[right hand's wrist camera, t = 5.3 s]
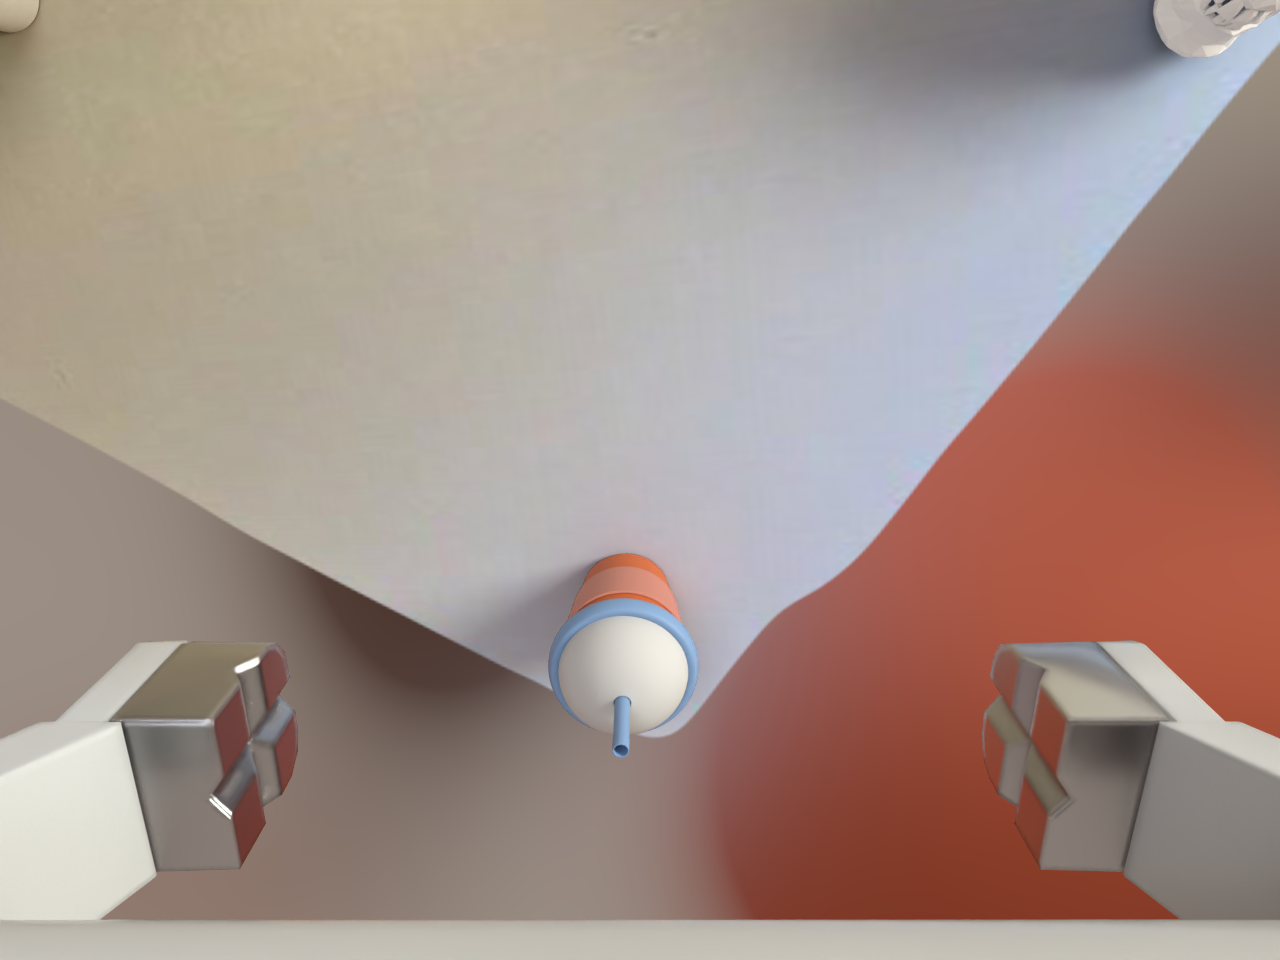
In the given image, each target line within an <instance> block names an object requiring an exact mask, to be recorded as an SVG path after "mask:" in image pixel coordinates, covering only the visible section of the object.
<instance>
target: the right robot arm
mask: <svg viewBox="0 0 1280 960" xmlns="http://www.w3.org/2000/svg"><path fill="white" fill-rule="evenodd" d="M289 678H290V675H289V670H288V664H287V659H286V654H285V651H284V650H283V649H282V648H281V647H280V646H279V645H278V644H277V643H247V642H195V641H193V642H188V641H149V642H143V643H137V644H136V645H135V646H134V647H133V648H132V649H131V650H130V651H129V652H127V653H126V654H125V655H124V656H123V657H122V658H121V659H120V660H119V661H118V662H117V663H116V664H115V665H114V666H113V667H112V668H111V669H110V670H109V671H108V672H107V673H105V674H104V675H103V676H102V677H101V678H100V679H99V680H98V681H97V682H96V683H95V684H94V685H93V686H92V687H91V688H90V689H89V690H88V691H87V692H86V693H85V694H83V695H82V696H81V697H80V698H79V699H78V700H77V701H76V702H75V703H74V704H73V705H72V706H71V707H70V708H69V709H68V710H67V711H66V712H65V713H64V714H62V715H61V716H60V717H59V718H58V719H57V720H56V721H55V722H39V723H36V724H34V725H31V726H29V727H27V728H24V729H22V730H20V731H17V732H15V733H13V734H10V735H8V736H6V737H3V738H1V739H0V960H1280V739H1279V738H1276V737H1274V736H1272V735H1270V734H1267V733H1265V732H1263V731H1260V730H1258V729H1255V728H1253V727H1251V726H1248V725H1246V724H1244V723H1241V722H1225V721H1224V720H1223V719H1222V718H1221V717H1220V716H1219V715H1218V714H1217V713H1215V712H1214V711H1213V710H1212V709H1211V708H1210V707H1209V706H1208V705H1207V704H1206V703H1205V702H1204V701H1203V700H1202V699H1201V698H1200V697H1199V696H1198V695H1197V694H1196V693H1195V692H1194V691H1192V690H1191V689H1190V688H1189V687H1188V686H1187V685H1186V684H1185V683H1184V682H1183V681H1182V680H1181V679H1180V678H1179V677H1178V676H1177V675H1176V674H1175V673H1174V672H1173V671H1172V670H1171V669H1170V668H1168V667H1167V666H1166V665H1165V664H1164V663H1163V662H1162V661H1161V660H1160V659H1159V658H1158V657H1157V656H1156V655H1155V654H1154V653H1153V652H1152V651H1151V650H1150V649H1149V648H1148V647H1147V646H1146V645H1144V644H1142V643H1139V642H1136V641H1133V640H1130V641H1105V642H1062V643H1022V644H1004V645H999V647H998V649H997V651H996V653H995V655H994V657H993V663H992V668H991V675H990V678H991V680H992V681H993V683H994V684H995V686H996V687H997V689H998V690H999V692H1000V693H1001V695H1000V696H999V697H998V698H997V699H996V700H995V701H994V702H993V703H992V704H991V705H990V706H989V707H988V708H987V709H986V710H985V712H984V721H983V729H982V746H983V756H984V763H985V766H986V769H987V772H988V775H989V778H990V780H991V782H992V784H993V786H994V788H995V790H996V792H997V793H998V795H999V796H1001V797H1003V798H1004V799H1006V800H1007V801H1009V802H1010V803H1012V804H1013V805H1015V806H1016V807H1017V810H1016V816H1015V822H1014V824H1015V826H1016V827H1017V829H1018V831H1019V833H1020V834H1021V836H1022V838H1023V840H1024V841H1025V843H1026V845H1027V847H1028V848H1029V850H1030V852H1031V853H1032V855H1033V857H1034V859H1035V861H1036V862H1037V864H1038V866H1039V868H1040V869H1048V870H1083V871H1120V872H1124V873H1123V876H1125V877H1126V878H1127V879H1128V880H1130V881H1131V882H1133V883H1134V884H1135V885H1136V886H1138V887H1139V888H1140V889H1141V890H1143V891H1144V892H1145V893H1147V894H1148V895H1149V896H1151V897H1152V898H1153V899H1154V900H1156V901H1157V902H1158V903H1160V904H1161V905H1162V906H1164V907H1165V908H1166V909H1167V910H1169V911H1170V912H1171V913H1173V914H1174V915H1175V916H1177V917H1178V918H1179V919H1180V920H100V919H101V918H102V917H104V916H105V915H106V914H108V913H109V912H110V911H112V910H113V909H114V908H115V907H117V906H118V905H119V904H121V903H122V902H123V901H125V900H126V899H127V898H128V897H130V896H131V895H132V894H134V893H135V892H136V891H138V890H139V889H140V888H141V887H143V886H144V885H145V884H147V883H148V882H149V881H151V880H152V879H153V878H155V877H156V876H157V873H156V872H160V871H195V870H230V869H240V868H241V866H242V864H243V862H244V861H245V859H246V857H247V855H248V854H249V852H250V850H251V848H252V847H253V845H254V843H255V841H256V840H257V838H258V836H259V834H260V833H261V831H262V829H263V827H264V826H265V824H266V822H265V816H264V810H263V807H264V806H265V805H267V804H268V803H270V802H271V801H273V800H274V799H276V798H277V797H279V796H281V795H282V793H283V792H284V790H285V788H286V786H287V784H288V782H289V780H290V778H291V776H292V772H293V768H294V764H295V760H296V756H297V752H298V726H297V720H296V712H295V710H294V709H293V708H292V707H291V706H290V705H289V704H288V703H287V702H286V701H285V700H284V699H283V698H282V697H281V696H280V695H279V693H280V692H281V690H282V689H283V687H284V686H285V684H286V683H287V681H288V680H289Z"/></svg>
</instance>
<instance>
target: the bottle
mask: <svg viewBox="0 0 1280 960" xmlns="http://www.w3.org/2000/svg"><path fill="white" fill-rule="evenodd" d="M38 9H39V0H0V31H2V32H18V31H21V30H23V29H25V28H26V27H28V26H29V25H30V24H31V23H32V22H33V20H34V19H35V17H36V15H37V12H38Z"/></svg>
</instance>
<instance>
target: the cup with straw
mask: <svg viewBox="0 0 1280 960" xmlns="http://www.w3.org/2000/svg"><path fill="white" fill-rule="evenodd" d="M548 669H549V678H550V682H551V686H552V689H553V691H554V693H555V695H556V697H557V699H558V701H559V702H560V704H561V705H562V706H563V708H564V709H565V710H566V711H567V712H568V713H569V714H570V715H571V716H572V717H574V718H575V719H576V720H578V721H579V722H581V723H582V724H584V725H586V726H588V727H590V728H592V729H595V730H598V731H601V732H604V733H607V734H612V735H613V748H612V751H613V754H614V755H615V756H616V757H619V758H623V757H626V756H627V755H628V754H629V738H630V735H635V734H639V733H643V732H646V731H650V730H652V729H655V728H657V727H659V726H662V725H663V724H665V723H667V722H668V721H670V720H671V719H672V718H674V717H675V716H676V715H677V714H678V713H679V712H680V711H681V710H682V709H683V708H684V707H685V705H686V704H687V703H688V701H689V699H690V698H691V696H692V694H693V691H694V689H695V686H696V682H697V678H698V655H697V651H696V647H695V645H694V642H693V640H692V638H691V636H690V634H689V633H688V631H687V629H686V628H685V627H684V626H683V624H682V621H681V618H680V614H679V611H678V607H677V604H676V600H675V598H674V595H673V593H672V592H671V590H670V588H669V585H668V582H667V579H666V577H665V575H664V574H663V572H662V571H661V569H660V568H659V567H658V566H657V565H656V564H654V563H653V562H652V561H650V560H649V559H647V558H645V557H642V556H639V555H635V554H616V555H612V556H609V557H607V558H605V559H603V560H601V561H600V562H598V563H597V564H596V565H595V566H594V567H593V568H592V569H591V570H590V571H589V573H588V574H587V576H586V578H585V581H584V583H583V586H582V587H581V589H580V590H579V592H578V594H577V596H576V598H575V601H574V604H573V606H572V609H571V612H570V615H569V618H568V621H567V622H566V623H565V624H564V625H563V626H562V628H561V629H560V631H559V632H558V633H557V635H556V637H555V639H554V641H553V644H552V647H551V650H550V655H549V663H548Z"/></svg>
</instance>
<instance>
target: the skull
mask: <svg viewBox="0 0 1280 960" xmlns="http://www.w3.org/2000/svg"><path fill="white" fill-rule="evenodd" d="M1223 1H1225V0H1214V2H1215V4H1214V5H1213V6H1212V7H1210V6H1209V3H1210V2H1211V0H1155V2H1154V8H1153V15H1154V19H1155V24H1156V29H1157V31H1158V33H1159V35H1160V37H1161V39H1162V41H1163V42H1164V43H1165V45H1166V46H1167V47H1168V48H1169V49H1171V50H1173V51H1174V52H1176V53H1177V54H1179V55H1180V56H1182V57H1183V58H1187V57H1210V56H1214V55H1218V54H1220V53H1221V52H1223V51H1224V50H1225V49H1227V48H1228V47H1229V46H1230V45H1231V44H1232V43H1233V42H1234V41H1235V40H1236V38H1237V37H1238V36H1239V35H1241V34H1243V33H1245V32H1246V31H1248V30H1250V29H1252V28H1254V27H1256V26H1257V25H1259V24H1260V23H1261V22H1262V21H1263V20H1265V19H1267V18H1269V17H1271V16H1273V15H1275V14H1276V13H1278V12H1279V11H1280V0H1232V1H1230V2H1228V3H1227V4H1225V5H1224V6H1222V5H1223V4H1221V3H1222V2H1223ZM1221 6H1222V7H1221ZM1243 6H1245V9H1244V10H1242V11H1240V10H1241V9H1242V8H1243ZM1214 12H1217V13H1218V15H1215V14H1214Z"/></svg>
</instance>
